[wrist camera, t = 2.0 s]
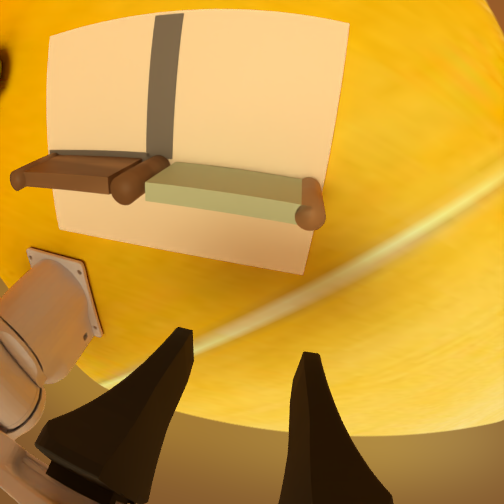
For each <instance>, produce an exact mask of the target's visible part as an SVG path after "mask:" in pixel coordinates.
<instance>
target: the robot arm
mask: <svg viewBox="0 0 504 504" xmlns="http://www.w3.org/2000/svg"><path fill="white" fill-rule="evenodd" d="M27 255H28V258H29V262H30V265H31V269H30V270H29V271H28V272H27V273H26V274H25V275H23V276H22V277H21V278H20V279H19V280H18V281H17V282H16V283H15V284H14V285H13V286H12V287H11V288H10V289H9V290H8V291H7V292H6V293H5V294H4V295H3V296H2V297H1V298H0V487H1V488H2V489H3V490H4V491H5V492H6V493H7V494H9V495H10V496H11V497H12V498H13V499H14V500H16V501H17V502H18V503H19V504H127V503H130V504H136V503H137V504H144V503H147V502H148V499H149V495H150V490H151V485H152V481H153V477H154V473H155V469H156V465H157V461H158V458H159V454H160V450H161V447H162V444H163V441H164V437H165V434H166V431H167V428H168V426H169V423H170V420H171V418H172V416H173V414H174V411H175V409H176V407H177V405H178V402H179V400H180V398H181V396H182V393H183V391H184V389H185V386H186V384H187V382H188V379H189V375H190V372H191V369H192V365H193V362H194V353H193V330H189V329H185V328H181V327H178V328H176V329H175V330H174V331H173V333H172V334H171V335H170V336H169V337H168V338H167V339H166V340H165V342H164V343H163V344H162V345H161V346H160V347H159V348H158V349H157V350H156V351H155V352H154V353H153V354H152V355H151V356H150V357H149V358H148V359H147V360H146V361H145V362H144V363H143V364H141V365H140V366H139V367H138V368H137V369H136V370H135V371H133V372H132V373H131V374H130V375H129V376H128V377H126V378H125V379H124V380H123V381H121V382H120V383H119V384H117V385H116V386H114V387H113V388H112V389H110V390H109V391H107V392H106V393H104V394H102V395H101V396H99V397H98V398H96V399H94V400H93V401H91V402H89V403H87V404H85V405H83V406H81V407H80V408H78V409H76V410H74V411H71V412H69V413H67V414H64V415H62V416H59V417H57V418H54V419H52V420H49V421H48V422H47V423H46V425H45V426H44V427H43V429H42V431H41V433H40V435H39V436H38V438H37V440H36V442H35V446H36V448H38V449H39V450H40V451H41V452H42V453H43V454H44V455H46V456H47V457H48V458H49V459H51V460H52V461H51V463H50V465H49V466H48V465H46V464H45V463H43V462H42V461H40V460H39V459H37V458H36V457H34V456H32V455H31V454H30V453H28V452H27V451H26V450H25V449H24V448H23V447H21V446H20V445H19V444H18V443H16V442H15V441H14V440H15V439H16V438H18V437H19V436H20V435H22V434H23V433H26V432H28V431H29V430H30V429H32V428H33V427H34V426H35V424H36V423H37V422H38V421H39V419H40V417H41V416H42V414H43V411H44V407H45V401H46V392H45V389H44V387H43V385H44V384H52V383H55V382H58V381H60V380H62V379H63V378H64V377H65V376H67V374H68V373H69V372H70V371H71V369H72V368H73V366H74V365H75V363H76V362H77V360H78V359H79V357H80V356H81V354H82V353H83V351H84V350H85V348H86V347H87V345H88V344H89V342H90V341H91V339H92V338H93V337H94V336H96V337H102V335H103V333H102V329H101V326H100V323H99V320H98V316H97V313H96V309H95V306H94V302H93V298H92V295H91V291H90V287H89V283H88V279H87V275H86V270H85V266H84V264H83V263H82V262H81V261H79V260H75V259H71V258H67V257H63V256H60V255H56V254H52V253H49V252H45V251H41V250H38V249H34V248H31V247H29V248H28V249H27ZM279 504H393V499H392V495H391V494H390V493H389V492H388V490H387V489H386V488H385V487H384V486H383V485H382V484H381V482H380V481H379V480H378V479H377V477H376V476H375V475H374V474H373V472H372V471H371V470H370V468H369V467H368V465H367V464H366V462H365V461H364V459H363V458H362V456H361V455H360V453H359V452H358V450H357V448H356V447H355V445H354V443H353V442H352V440H351V438H350V436H349V434H348V432H347V430H346V428H345V426H344V424H343V422H342V420H341V417H340V415H339V413H338V410H337V408H336V405H335V403H334V400H333V397H332V395H331V392H330V389H329V386H328V383H327V380H326V377H325V373H324V370H323V366H322V362H321V358H320V355H319V354H318V353H311V352H303V354H302V357H301V360H300V363H299V365H298V368H297V371H296V373H295V376H294V379H293V384H292V391H291V398H290V416H289V443H288V456H287V462H286V468H285V475H284V480H283V485H282V490H281V495H280V500H279Z"/></svg>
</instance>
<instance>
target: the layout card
mask: <svg viewBox="0 0 504 504" xmlns="http://www.w3.org/2000/svg"><path fill="white" fill-rule="evenodd" d="M348 32H349V23H345V22H340V21H335V20H330V19H325V18H319V17H313V16H307V15H300V14H292V13H284V12H274V11H261V10H242V9H202V10H183V11H170V12H160V13H152V14H144V15H138V16H131V17H125V18H120V19H115V20H110V21H105V22H101V23H96V24H92V25H88V26H84V27H80V28H77V29H73V30H70V31H66V32H63V33H60V34H57V35H53V36H50V43H49V53H48V67H47V137H48V151H49V154H52V153H57V154H59V155H83V156H110V157H128V158H142V162H143V161H145V160H147V159H149V158H151V157H153V156H155V155H161V156H163V157H165V158H166V159H168V161H169V162H170V165H171V164H173V163H175V162H182V163H192V164H201V165H210V166H218V167H226V168H233V169H241V170H248V171H255V172H261V173H268V174H274V175H280V176H286V177H292V178H298V179H303V178H306V177H311V178H314V179H316V180H317V181H318V182H319V183H320V186H321V191H322V190H323V185H324V180H325V175H326V170H327V165H328V160H329V154H330V149H331V144H332V138H333V133H334V127H335V121H336V115H337V109H338V103H339V97H340V91H341V84H342V77H343V70H344V63H345V56H346V49H347V41H348ZM53 195H54V202H55V208H56V214H57V220H58V225H59V229H61V230H65V231H70V232H75V233H80V234H85V235H90V236H95V237H100V238H105V239H110V240H115V241H121V242H126V243H131V244H136V245H141V246H146V247H152V248H157V249H162V250H167V251H173V252H178V253H183V254H189V255H194V256H199V257H205V258H210V259H215V260H221V261H226V262H232V263H237V264H243V265H248V266H254V267H260V268H265V269H271V270H276V271H282V272H288V273H294V274H299V275H303V273H304V269H305V265H306V261H307V257H308V253H309V248H310V244H311V240H312V236H313V231H307V230H304V229H302V228H300V227H299V226H298V225H296V224H290V223H284V222H279V221H273V220H267V219H261V218H255V217H249V216H243V215H237V214H231V213H224V212H218V211H211V210H205V209H198V208H191V207H185V206H178V205H171V204H164V203H156V202H149V201H145V193H144V194H143V195H142V196H140V197H139V198H138V199H137V200H135V201H134V202H133V203H131V204H130V205H121V204H119V203H118V202H116V201H115V200H114V198H113V197H112V194H109V195H107V194H98V193H89V192H80V191H71V190H61V189H53Z"/></svg>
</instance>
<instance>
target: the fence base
mask: <svg viewBox="0 0 504 504" xmlns="http://www.w3.org/2000/svg"><path fill="white" fill-rule="evenodd" d="M168 166H170V162H169V161H168V159H166V158H165V157H163V156H161V155H155V156H153V157H151V158H149V159H147V160H145V161H143V162H142V158H128V157H110V156H83V155H59V154H57V153H52V154H49V155H47V156H45V157H42V158H40V159H38V160H36V161H33V162H31V163H29V164H27V165H25V166H23V167H21V168H18V169H16V170H14V171H12V172H11V174H10V182H11V185H12V187H13V188H14V189H15V190H16V191H19V190H20V189H22V188H24V187H26V186H30V187H41V188H51V189H61V190H71V191H80V192H89V193H98V194H107V195H109V194H112V197H113V198H114V200H115V201H116V202H118V203H119V204H121V205H130V204H131V203H133V202H134V201H135V200H137V199H138V198H139V197H140V196H142V195H143V194H144V193H145V182H146V181H147V180H149V179H150V178H152V177H153V176H155V175H156V174H158V173H159V172H161V171H162V170H164V169H165V168H167V167H168Z"/></svg>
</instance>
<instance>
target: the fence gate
mask: <svg viewBox="0 0 504 504" xmlns="http://www.w3.org/2000/svg"><path fill="white" fill-rule="evenodd" d="M145 201H149V202H156V203H164V204H171V205H178V206H185V207H191V208H198V209H205V210H211V211H218V212H224V213H231V214H237V215H243V216H249V217H255V218H261V219H267V220H273V221H279V222H284V223H290V224H296V225H298V226H299V227H300V228H302V229H304V230H307V231H314V230H317V229H319V228H320V227H321V226H322V225H323V224H324V222H325V218H326V215H325V208H324V202H323V196H322V191H321V186H320V183H319V182H318V181H317V180H316V179H314V178H311V177H306V178H303V179H298V178H292V177H286V176H280V175H274V174H268V173H261V172H255V171H248V170H241V169H233V168H226V167H218V166H210V165H201V164H192V163H182V162H175V163H173V164H171V165H170V166H168V167H167V168H165V169H164V170H162V171H161V172H159V173H158V174H156V175H155V176H153V177H152V178H150V179H149V180H147V181H146V182H145Z"/></svg>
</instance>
